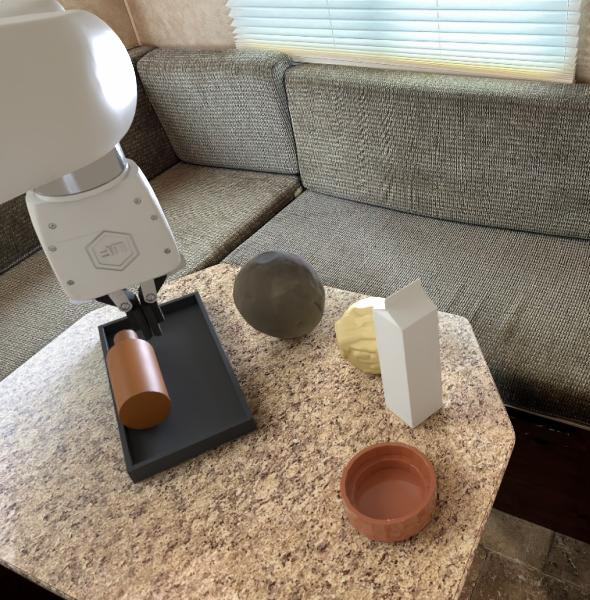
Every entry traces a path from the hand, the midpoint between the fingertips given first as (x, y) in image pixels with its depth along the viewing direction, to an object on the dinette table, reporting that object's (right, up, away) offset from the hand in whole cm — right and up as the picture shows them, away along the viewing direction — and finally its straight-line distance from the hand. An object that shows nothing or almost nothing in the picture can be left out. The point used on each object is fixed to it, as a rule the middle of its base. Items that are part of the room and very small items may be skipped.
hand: (152, 329), depth 61 cm
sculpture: (+21, -6, +36) cm, 42 cm away
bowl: (+24, -22, +16) cm, 36 cm away
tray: (-11, -10, +36) cm, 39 cm away
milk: (+27, -13, +27) cm, 41 cm away
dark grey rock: (+6, -2, +43) cm, 43 cm away
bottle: (-11, -13, +25) cm, 31 cm away
